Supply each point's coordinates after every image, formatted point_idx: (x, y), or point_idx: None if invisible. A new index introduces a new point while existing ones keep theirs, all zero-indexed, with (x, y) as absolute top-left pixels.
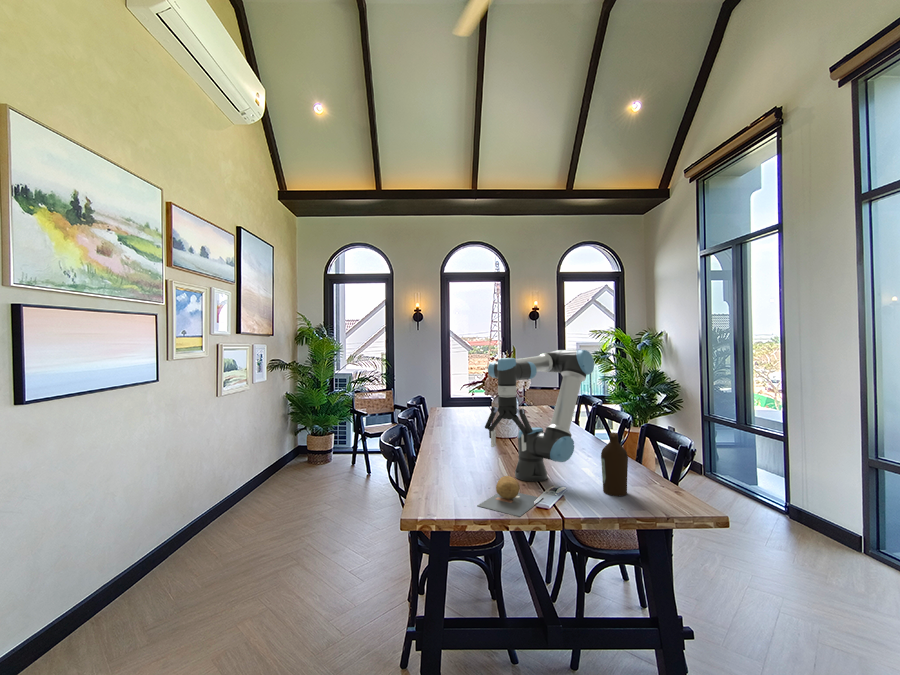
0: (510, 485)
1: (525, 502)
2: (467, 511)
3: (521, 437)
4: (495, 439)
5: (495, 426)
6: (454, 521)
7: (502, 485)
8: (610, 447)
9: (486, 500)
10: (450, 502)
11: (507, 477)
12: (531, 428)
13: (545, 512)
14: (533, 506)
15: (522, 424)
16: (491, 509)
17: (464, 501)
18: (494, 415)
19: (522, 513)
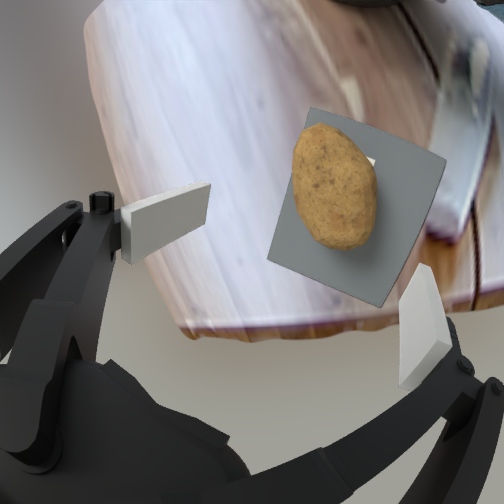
0: (348, 248)
1: (396, 210)
2: (254, 290)
3: (399, 368)
4: (183, 196)
5: (106, 238)
6: (247, 336)
7: (319, 241)
8: None
9: (280, 218)
10: (202, 245)
11: (326, 178)
12: (501, 413)
13: (445, 268)
14: (418, 231)
15: (420, 435)
16: (306, 275)
17: (228, 231)
18: (8, 289)
19: (387, 291)
